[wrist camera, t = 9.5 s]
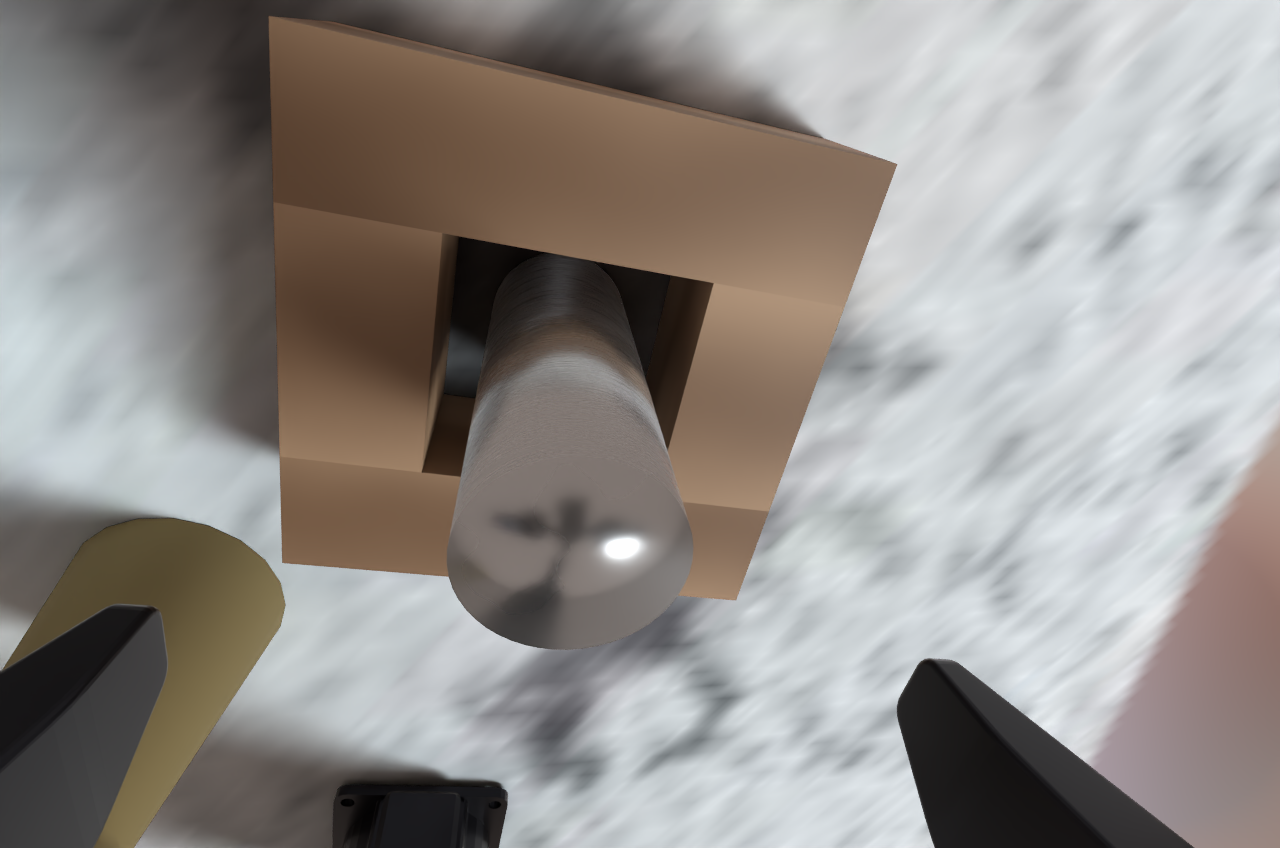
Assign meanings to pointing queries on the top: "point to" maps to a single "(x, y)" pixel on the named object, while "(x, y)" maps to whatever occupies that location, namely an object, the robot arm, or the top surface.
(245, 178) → the top surface
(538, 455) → the grey metal peg
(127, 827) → the cork
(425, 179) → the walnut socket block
